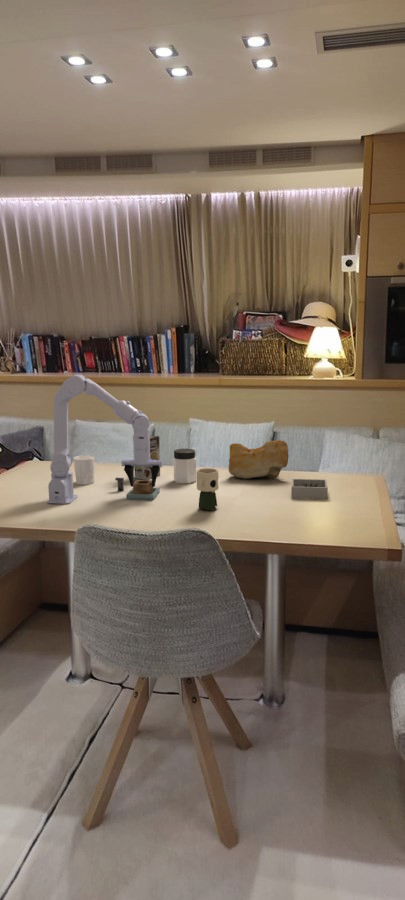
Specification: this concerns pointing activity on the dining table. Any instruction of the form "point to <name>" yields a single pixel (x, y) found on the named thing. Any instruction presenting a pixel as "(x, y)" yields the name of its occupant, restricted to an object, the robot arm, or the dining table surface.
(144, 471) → the coffee box
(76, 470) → the white cup
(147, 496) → the tray
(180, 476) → the jar
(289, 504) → the dining table surface
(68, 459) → the robot arm
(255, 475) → the rough brown rock
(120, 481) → the dark grey rounded piece
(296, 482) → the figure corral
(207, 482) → the character mug
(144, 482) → the collar
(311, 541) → the dining table surface
